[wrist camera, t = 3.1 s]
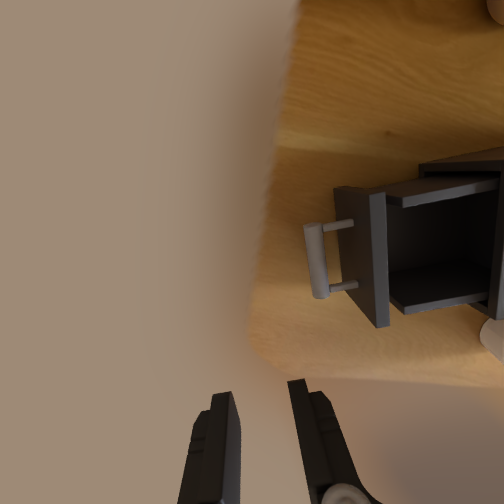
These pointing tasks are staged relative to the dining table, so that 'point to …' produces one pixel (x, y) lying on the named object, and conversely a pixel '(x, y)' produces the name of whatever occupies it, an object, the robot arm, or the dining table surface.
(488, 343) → the foam cup
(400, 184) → the drawer
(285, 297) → the dining table surface
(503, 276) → the dark grey cabinet
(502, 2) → the silver metal bottle
